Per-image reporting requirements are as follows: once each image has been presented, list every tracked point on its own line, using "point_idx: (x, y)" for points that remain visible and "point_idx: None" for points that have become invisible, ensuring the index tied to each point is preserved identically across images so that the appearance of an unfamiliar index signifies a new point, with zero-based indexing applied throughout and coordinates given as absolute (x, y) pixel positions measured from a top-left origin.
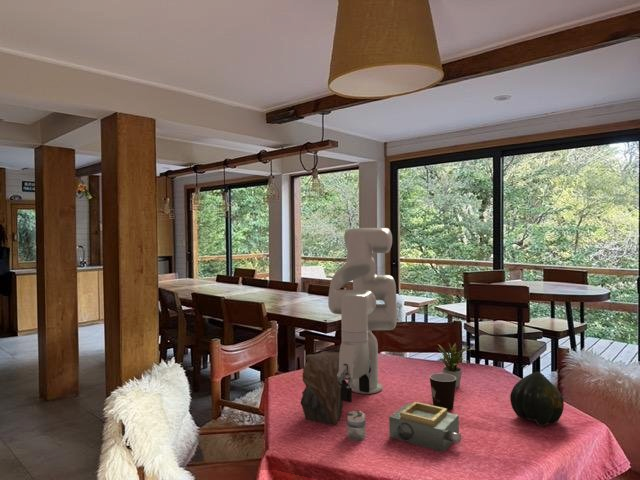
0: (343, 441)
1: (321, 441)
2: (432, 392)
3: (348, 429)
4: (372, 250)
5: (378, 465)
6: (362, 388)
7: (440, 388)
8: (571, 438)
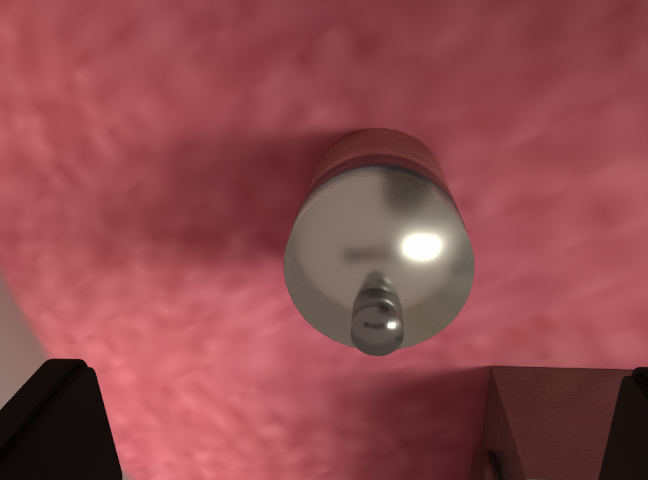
0: (264, 155)
1: (154, 12)
2: None
3: (308, 188)
4: None
5: (172, 434)
6: (639, 462)
7: None
8: None
